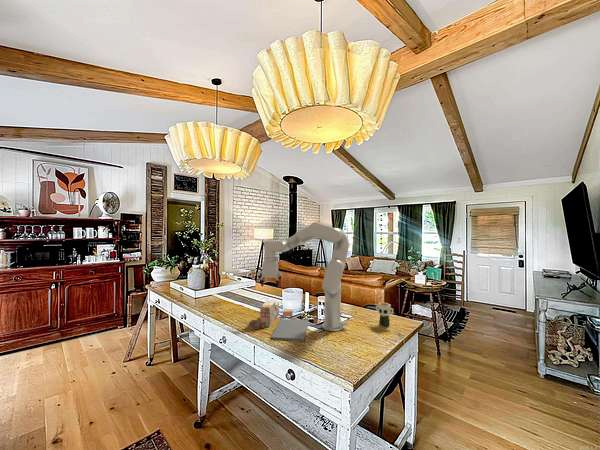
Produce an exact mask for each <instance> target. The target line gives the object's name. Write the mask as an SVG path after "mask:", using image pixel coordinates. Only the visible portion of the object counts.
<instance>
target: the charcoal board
mask: <svg viewBox="0 0 600 450" xmlns="http://www.w3.org/2000/svg"><path fill="white" fill-rule="evenodd" d="M308 322H310V321H309V319H294V318H293V319H287V318H280V320H279V321H278V324H277V326H276V327H275V329H274V331H273V333H272V335H271V337H270V339H271V340H274V339H281V340H280V341H292V340H293V341H295V342H305V340H306V336H307V330H308V327H309V323H308Z"/></svg>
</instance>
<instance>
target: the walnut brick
mask: <svg viewBox="0 0 600 450" xmlns="http://www.w3.org/2000/svg"><path fill="white" fill-rule="evenodd" d="M261 328H262V327H261V320H259V319H251V320H249V322H248V329H251V330H260V329H261Z"/></svg>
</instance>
